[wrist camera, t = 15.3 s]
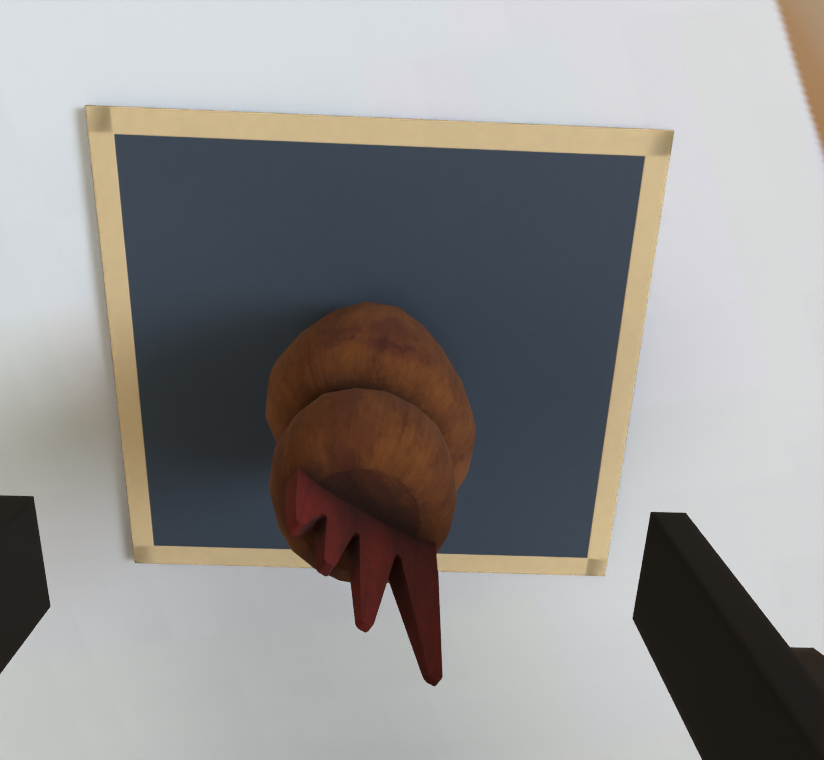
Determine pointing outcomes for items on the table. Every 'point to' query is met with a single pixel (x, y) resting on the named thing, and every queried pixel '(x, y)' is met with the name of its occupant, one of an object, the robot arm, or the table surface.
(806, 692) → the robot arm
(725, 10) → the table surface
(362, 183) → the framed chalkboard
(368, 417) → the wooden figurine
